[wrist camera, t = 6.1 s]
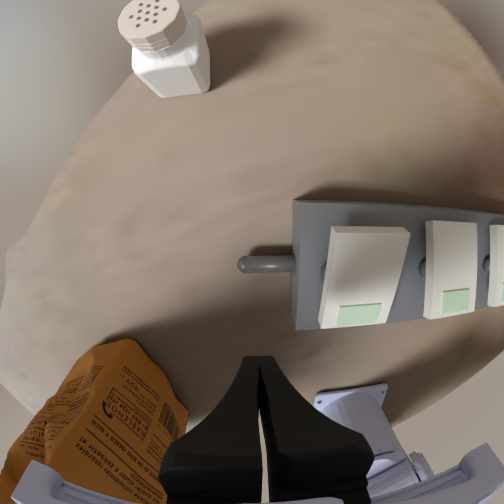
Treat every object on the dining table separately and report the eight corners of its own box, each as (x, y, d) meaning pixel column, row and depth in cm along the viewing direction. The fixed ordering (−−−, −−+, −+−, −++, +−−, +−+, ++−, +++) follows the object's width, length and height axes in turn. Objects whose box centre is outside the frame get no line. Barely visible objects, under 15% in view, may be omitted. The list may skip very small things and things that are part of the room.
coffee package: (131, 431, 26) (80, 581, 5) (69, 349, 24) (-46, 500, 2) (204, 420, 26) (181, 612, 4) (142, 326, 23) (16, 557, 2)
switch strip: (490, 292, 23) (507, 302, 20) (239, 313, 23) (238, 332, 20) (503, 213, 21) (521, 217, 18) (236, 199, 21) (235, 202, 18)
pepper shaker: (210, 50, 18) (190, -21, 8) (211, 94, 19) (187, 36, 9) (160, 57, 18) (115, -4, 8) (159, 101, 19) (105, 54, 9)
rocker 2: (459, 307, 19) (475, 311, 17) (416, 313, 19) (431, 319, 17) (461, 224, 19) (477, 222, 17) (417, 222, 19) (434, 220, 17)
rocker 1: (376, 306, 20) (386, 324, 18) (315, 310, 20) (321, 330, 18) (395, 221, 17) (411, 234, 15) (326, 219, 17) (336, 233, 15)
